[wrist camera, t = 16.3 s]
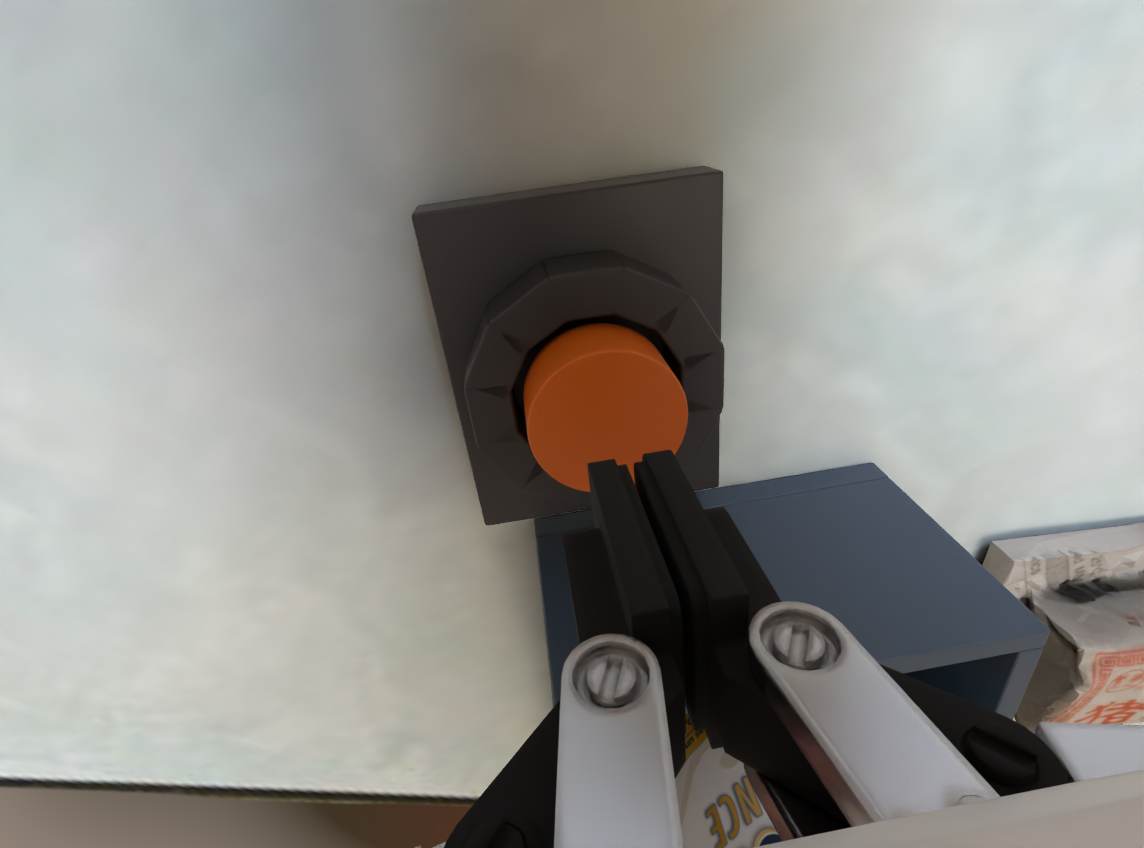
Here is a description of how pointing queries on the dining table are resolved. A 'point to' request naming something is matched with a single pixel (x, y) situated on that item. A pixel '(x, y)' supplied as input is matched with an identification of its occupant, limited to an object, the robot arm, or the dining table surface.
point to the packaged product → (1081, 622)
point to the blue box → (854, 581)
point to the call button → (600, 402)
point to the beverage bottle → (718, 799)
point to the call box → (574, 310)
